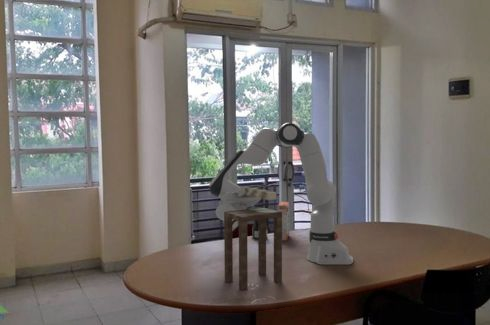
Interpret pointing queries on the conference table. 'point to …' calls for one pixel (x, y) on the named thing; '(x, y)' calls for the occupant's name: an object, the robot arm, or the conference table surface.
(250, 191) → the bar
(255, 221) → the ink bottle
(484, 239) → the conference table surface
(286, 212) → the cracker box
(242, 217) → the stand
